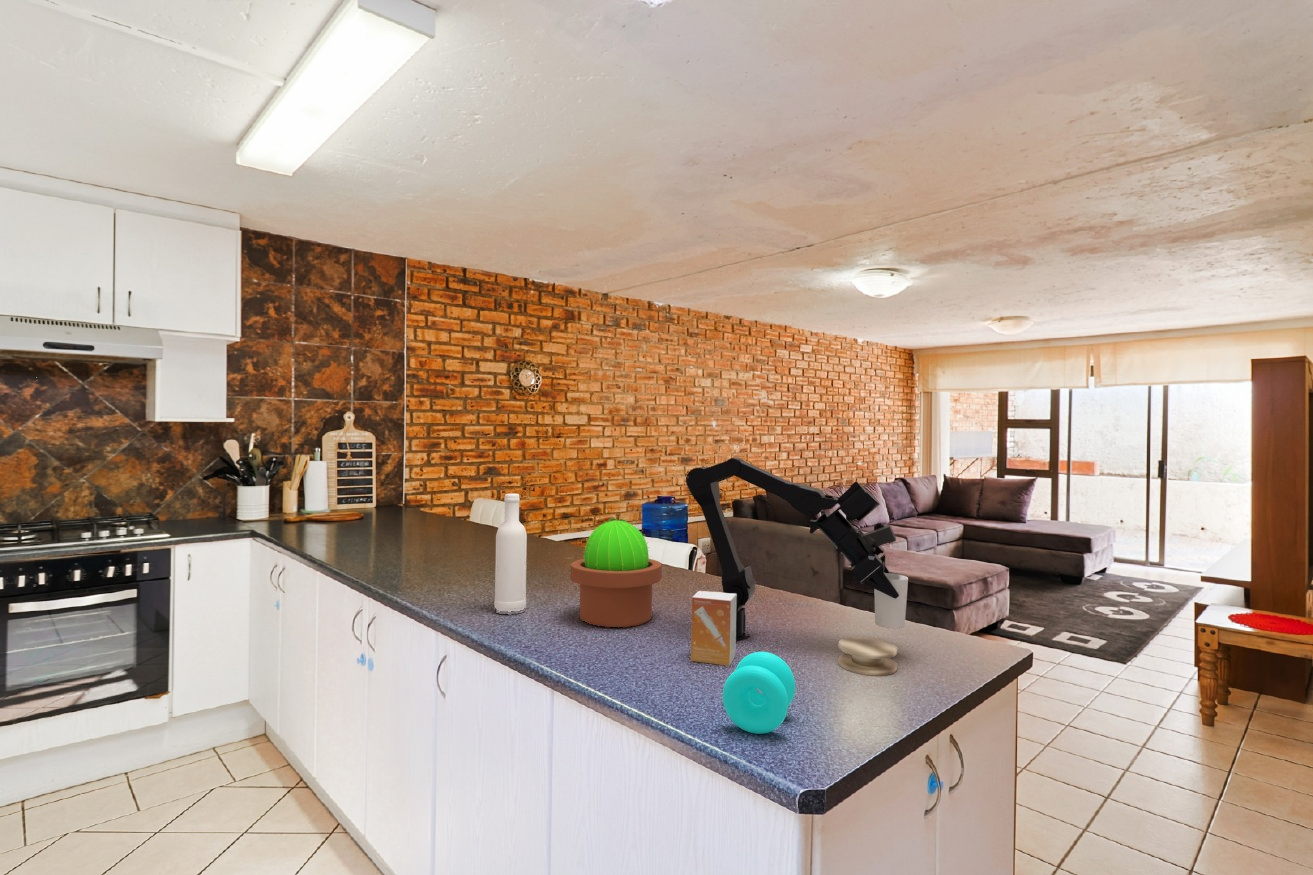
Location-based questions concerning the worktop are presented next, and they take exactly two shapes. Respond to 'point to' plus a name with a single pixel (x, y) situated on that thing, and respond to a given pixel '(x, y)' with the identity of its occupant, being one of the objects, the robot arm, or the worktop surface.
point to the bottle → (511, 559)
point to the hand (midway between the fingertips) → (897, 593)
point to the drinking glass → (892, 604)
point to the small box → (713, 627)
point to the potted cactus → (616, 576)
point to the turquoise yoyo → (748, 702)
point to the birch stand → (867, 656)
